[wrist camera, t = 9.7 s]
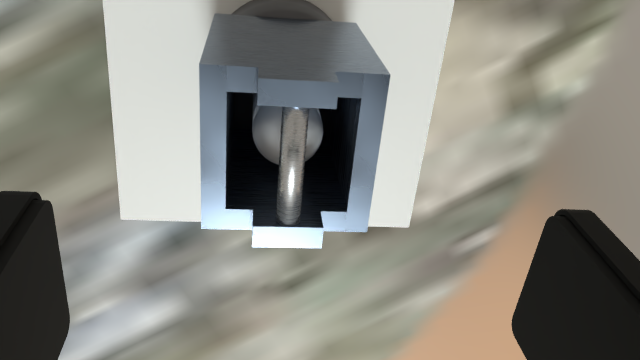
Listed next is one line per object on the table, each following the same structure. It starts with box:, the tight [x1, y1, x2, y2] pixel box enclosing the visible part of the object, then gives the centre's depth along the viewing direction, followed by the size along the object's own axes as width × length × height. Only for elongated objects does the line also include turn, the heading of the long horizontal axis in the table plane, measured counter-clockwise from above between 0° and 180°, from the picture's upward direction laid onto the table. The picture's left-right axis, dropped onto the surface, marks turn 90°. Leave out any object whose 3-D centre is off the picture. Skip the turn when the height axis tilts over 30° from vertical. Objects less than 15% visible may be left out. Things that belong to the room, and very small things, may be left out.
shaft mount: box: [103, 0, 454, 227], centre depth 21 cm, size 16×14×10 cm
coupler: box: [199, 13, 390, 248], centre depth 18 cm, size 5×5×7 cm
